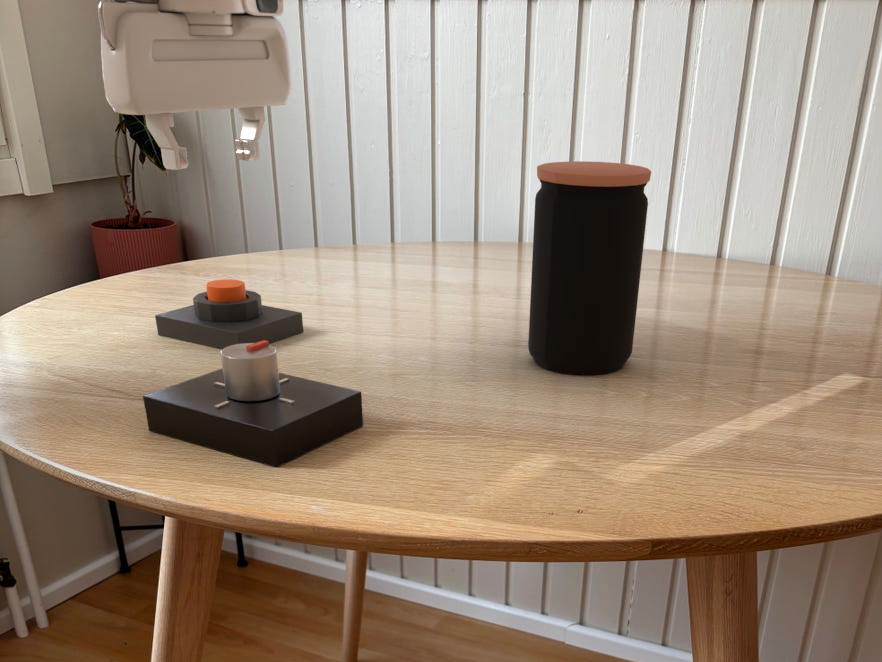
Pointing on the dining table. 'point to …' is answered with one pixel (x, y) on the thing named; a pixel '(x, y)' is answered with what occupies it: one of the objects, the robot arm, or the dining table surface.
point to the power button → (226, 290)
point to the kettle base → (229, 322)
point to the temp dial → (250, 371)
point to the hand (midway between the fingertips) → (213, 164)
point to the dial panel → (255, 417)
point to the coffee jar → (586, 265)
